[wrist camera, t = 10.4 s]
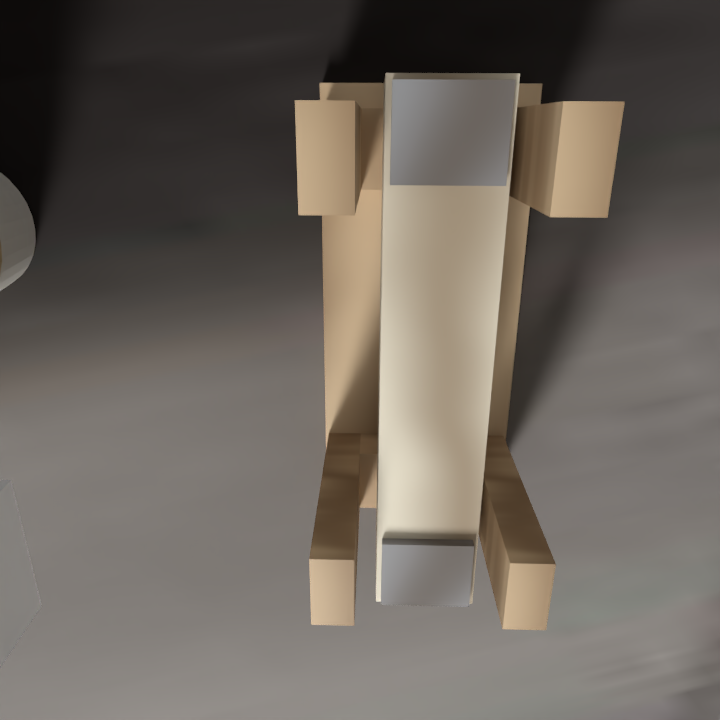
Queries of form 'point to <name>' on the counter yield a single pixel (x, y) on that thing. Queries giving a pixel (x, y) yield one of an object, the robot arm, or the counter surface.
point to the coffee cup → (14, 233)
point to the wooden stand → (362, 323)
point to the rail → (438, 324)
